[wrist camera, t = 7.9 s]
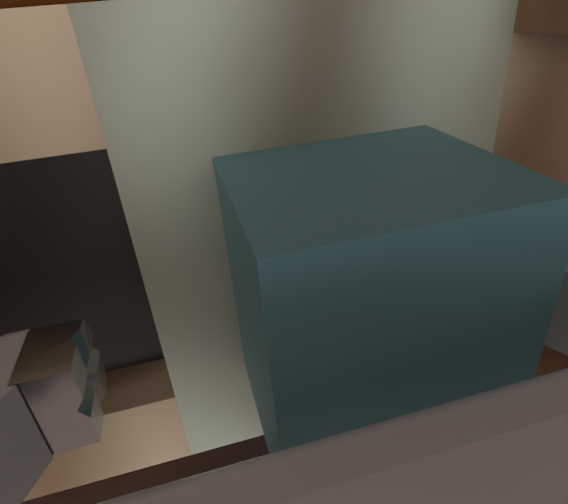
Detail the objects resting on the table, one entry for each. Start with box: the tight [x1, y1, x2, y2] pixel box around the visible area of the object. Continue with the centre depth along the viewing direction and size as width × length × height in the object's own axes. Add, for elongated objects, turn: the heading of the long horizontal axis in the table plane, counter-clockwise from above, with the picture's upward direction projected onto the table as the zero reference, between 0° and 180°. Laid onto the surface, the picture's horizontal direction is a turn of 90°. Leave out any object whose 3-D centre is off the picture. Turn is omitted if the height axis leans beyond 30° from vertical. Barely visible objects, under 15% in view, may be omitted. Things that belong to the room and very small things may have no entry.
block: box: [212, 125, 568, 454], centre depth 9 cm, size 5×6×4 cm
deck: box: [0, 0, 568, 501], centre depth 11 cm, size 35×12×6 cm, turn 95°
